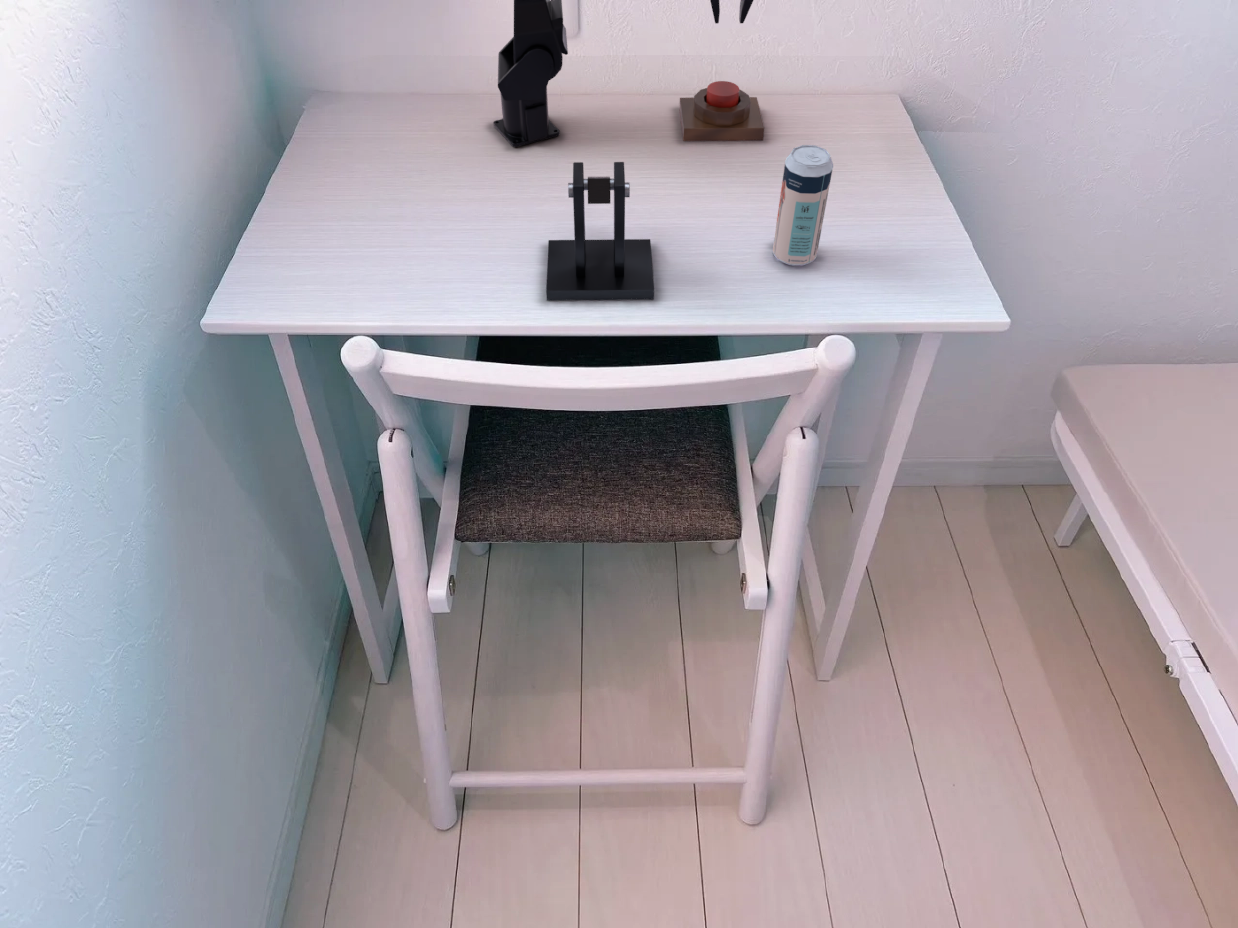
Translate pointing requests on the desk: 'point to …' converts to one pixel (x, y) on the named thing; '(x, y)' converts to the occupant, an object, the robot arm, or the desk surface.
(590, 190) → the lever
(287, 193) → the desk surface
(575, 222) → the bracket
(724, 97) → the button
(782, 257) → the beer can
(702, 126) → the button block
